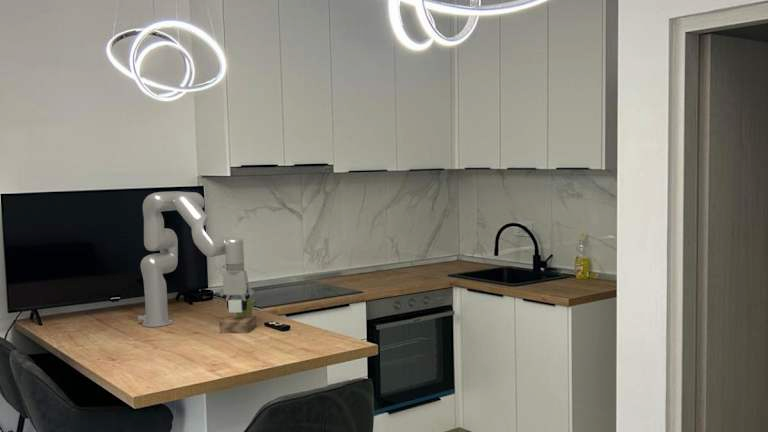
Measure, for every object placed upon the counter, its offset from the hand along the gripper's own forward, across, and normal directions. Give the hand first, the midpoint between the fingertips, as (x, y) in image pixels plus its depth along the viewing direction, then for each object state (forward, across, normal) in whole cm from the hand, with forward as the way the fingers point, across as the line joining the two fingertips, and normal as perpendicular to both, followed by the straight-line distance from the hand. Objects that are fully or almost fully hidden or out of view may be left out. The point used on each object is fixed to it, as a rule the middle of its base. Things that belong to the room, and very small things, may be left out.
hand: (237, 309), depth 309 cm
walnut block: (+9, 0, 0) cm, 9 cm away
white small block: (+1, 0, 0) cm, 1 cm away
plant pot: (+9, -4, +20) cm, 22 cm away
